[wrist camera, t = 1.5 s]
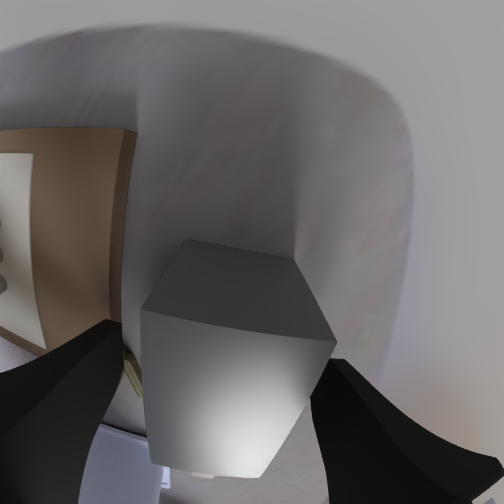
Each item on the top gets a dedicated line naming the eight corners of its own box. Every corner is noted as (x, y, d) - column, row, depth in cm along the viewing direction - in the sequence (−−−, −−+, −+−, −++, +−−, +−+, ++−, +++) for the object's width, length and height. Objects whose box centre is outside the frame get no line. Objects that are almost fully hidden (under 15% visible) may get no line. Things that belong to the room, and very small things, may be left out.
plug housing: (245, 413, 13) (248, 492, 8) (171, 401, 12) (154, 479, 7) (294, 260, 10) (337, 341, 5) (186, 239, 10) (140, 309, 5)
